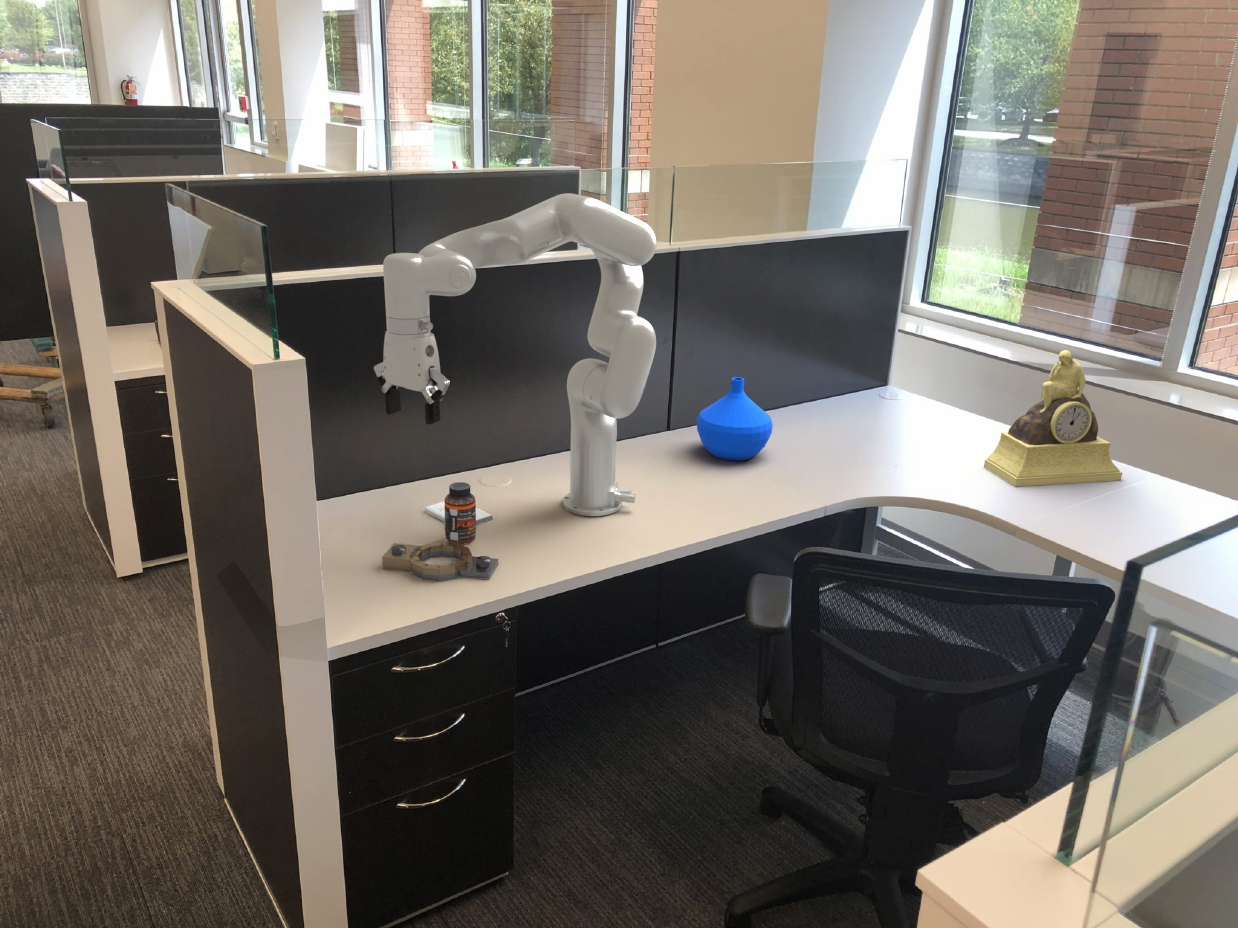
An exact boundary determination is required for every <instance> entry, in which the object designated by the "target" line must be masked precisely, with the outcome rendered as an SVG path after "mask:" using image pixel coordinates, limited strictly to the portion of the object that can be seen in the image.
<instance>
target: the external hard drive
mask: <svg viewBox="0 0 1238 928" xmlns="http://www.w3.org/2000/svg"><path fill="white" fill-rule="evenodd" d="M444 506H445V503H444V501H441V502H438V503H434V504H432V505H427V506H425V507H424V512H425V513H427V514H428V515H430V516H432V517H434V518H437V520H440V521H442V522H443V523H445V507H444ZM492 520H494V517H493V514H490V513H488V512H486V511H484V510H482V509H480V508H477V507H476V526H477V525H480V524H483V523H486V522H489V521H492Z"/></svg>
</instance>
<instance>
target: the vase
mask: <svg viewBox="0 0 1238 928" xmlns="http://www.w3.org/2000/svg"><path fill="white" fill-rule="evenodd" d="M730 383H731V386H730V389H729V392H728V393H727V394H725V395H724V396H723V397H721V398H720V399H718V400H716V401H714V403H712V404H710V405H708V406H707V407H706V408H703V409H702V410H701V411H700V412H699V414H698V416H697V418H696V429H697V432H698V436H699V439H700V441H701V443H702V445H703V446H704V447H705V449H706V450H707V451H708V452H710V454H712V455H713V456H714V457H716V458H718V459H721V460H725V461H727V460H728V461H745V460H749V459H751V458H753V457H754V456H756V455H758V454H759V453H760V452H761V451H762V450H763V449H764V448H765V447H766V445H767V443H768V441H769V440H770V438H771V435H772V434H773V427H774V426H773V425H774V423H773V421H772V417H771V415H769V414H768V413H767V411H765V410H764V409H762V408H761V407H760V406H759V405H757V404H756V403H755V401H753V400H752V399H750V397H748V396H747V394H746V393H745V390H744V385H745V378H743V377H740V376H734V377H732V378H731V382H730Z"/></svg>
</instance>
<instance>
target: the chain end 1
mask: <svg viewBox="0 0 1238 928" xmlns="http://www.w3.org/2000/svg"><path fill="white" fill-rule="evenodd" d="M437 551H449V552H455V553H457V554H459V555H461V556H462V557H461V559H460V560H458V559H457V560H456V561H453V562H451V563H445V564H431V563H430V564H429V563H426V562H425V561H423V562H422V561H420V560H419V559H420V558H421V557H422V556H424V555H426V554H428V553H431V552H437ZM472 556H473V553H472V551H471V550H470V548H469V546H466V545H465V544H459V543H454V542H448V541H435V542H428V543H424V544H422V545H419V544H409V543H400V542H399V543H398V542H394V543H393V544H391V546H390V547H389V549H387V551H386V552H385V553H384V554H383V555H382V556H381V560H382V561H381V562H382V570H392V571H400V572H401V571H402V572H410V573H412V572H411V567H412V569H414V570H416V571H418V572H421V573H423V574H432V575H444V574H451V573H456V572H458V571H460V570H463V569H465V568H467V567H468V566H469V564H470V563H471V561H472Z"/></svg>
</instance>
